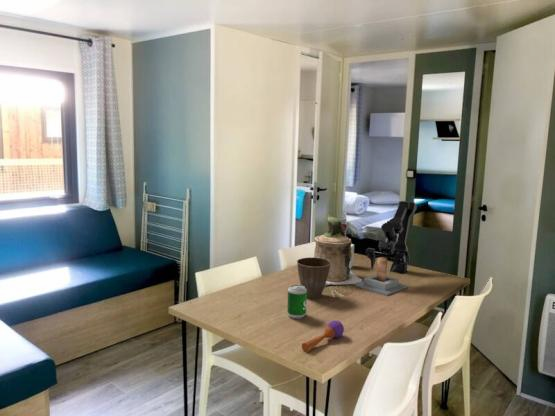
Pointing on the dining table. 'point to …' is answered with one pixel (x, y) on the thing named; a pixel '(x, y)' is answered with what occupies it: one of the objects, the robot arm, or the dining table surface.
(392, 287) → the socket block
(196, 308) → the dining table surface
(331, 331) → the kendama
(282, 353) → the dining table surface
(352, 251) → the supplement box
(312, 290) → the plant pot
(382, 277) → the peg
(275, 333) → the dining table surface
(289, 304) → the soda can
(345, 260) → the cookie jar
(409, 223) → the robot arm
